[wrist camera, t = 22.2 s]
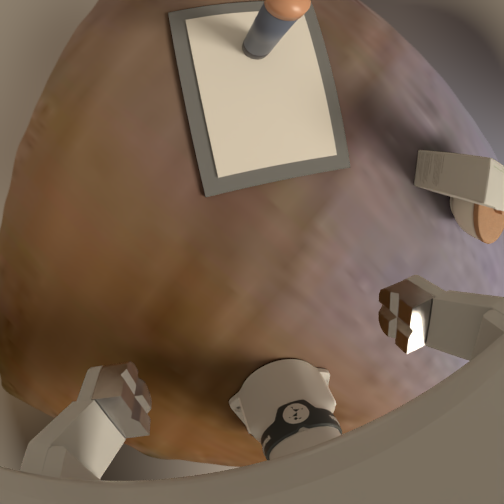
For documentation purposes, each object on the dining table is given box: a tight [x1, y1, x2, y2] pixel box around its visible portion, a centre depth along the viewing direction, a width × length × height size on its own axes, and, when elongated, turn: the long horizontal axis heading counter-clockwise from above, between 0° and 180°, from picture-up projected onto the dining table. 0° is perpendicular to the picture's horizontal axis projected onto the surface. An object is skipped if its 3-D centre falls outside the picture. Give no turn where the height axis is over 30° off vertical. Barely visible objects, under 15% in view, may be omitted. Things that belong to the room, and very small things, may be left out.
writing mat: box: [168, 1, 350, 197], centre depth 32 cm, size 26×20×1 cm
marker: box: [242, 0, 311, 60], centre depth 23 cm, size 4×4×14 cm
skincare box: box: [414, 150, 504, 211], centre depth 34 cm, size 8×7×16 cm
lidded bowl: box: [450, 197, 504, 244], centre depth 39 cm, size 13×13×11 cm
